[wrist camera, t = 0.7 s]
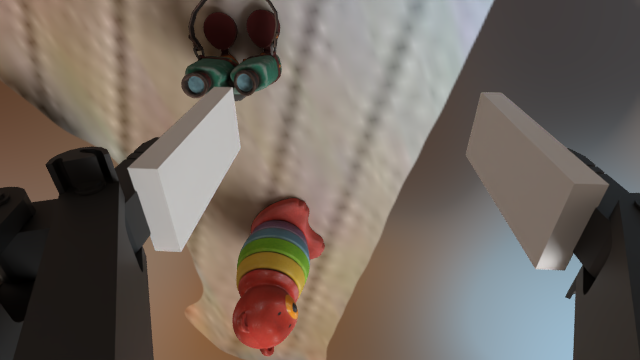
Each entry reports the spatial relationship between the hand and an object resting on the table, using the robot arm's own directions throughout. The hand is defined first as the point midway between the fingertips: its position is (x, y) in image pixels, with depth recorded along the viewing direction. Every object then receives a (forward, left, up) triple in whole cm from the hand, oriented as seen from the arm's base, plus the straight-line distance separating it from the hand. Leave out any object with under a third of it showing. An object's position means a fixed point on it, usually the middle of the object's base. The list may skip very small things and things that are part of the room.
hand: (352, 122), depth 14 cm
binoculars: (-7, -9, -26) cm, 28 cm away
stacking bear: (+14, -26, -26) cm, 39 cm away
